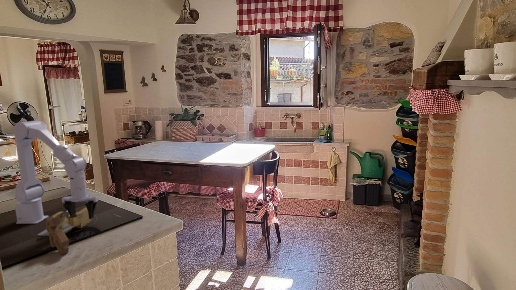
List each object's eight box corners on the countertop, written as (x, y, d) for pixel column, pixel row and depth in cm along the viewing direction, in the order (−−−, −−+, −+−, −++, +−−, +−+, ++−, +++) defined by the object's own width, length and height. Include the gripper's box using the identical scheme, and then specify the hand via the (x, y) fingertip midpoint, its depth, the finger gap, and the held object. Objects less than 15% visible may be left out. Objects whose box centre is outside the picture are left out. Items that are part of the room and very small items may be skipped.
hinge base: (57, 232, 138) (54, 217, 137) (49, 232, 138) (47, 217, 137) (74, 221, 149) (72, 207, 148) (66, 221, 149) (64, 207, 148)
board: (62, 235, 136) (61, 234, 135) (37, 235, 136) (37, 234, 136) (94, 213, 159) (94, 212, 159) (73, 213, 160) (73, 212, 160)
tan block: (77, 232, 138) (75, 218, 137) (68, 232, 139) (66, 218, 138) (93, 220, 150) (92, 207, 149) (85, 220, 151) (84, 207, 150)
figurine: (60, 263, 121) (45, 237, 130) (68, 261, 123) (52, 235, 131) (61, 234, 116) (45, 208, 124) (69, 232, 117) (52, 207, 126)
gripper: (55, 190, 139) (59, 222, 142) (90, 189, 138) (94, 221, 141) (65, 185, 146) (70, 215, 149) (99, 184, 145) (103, 215, 148)
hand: (82, 218), depth 145 cm, fingers open, 7 cm apart
